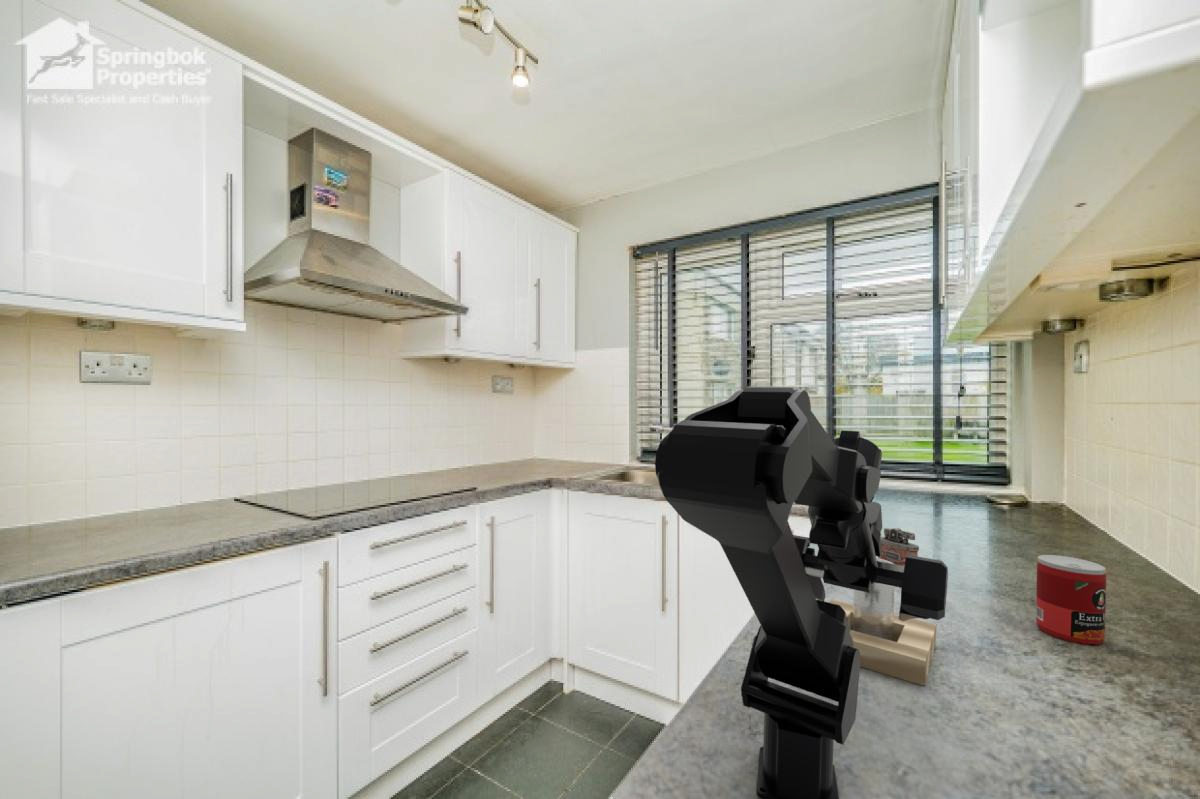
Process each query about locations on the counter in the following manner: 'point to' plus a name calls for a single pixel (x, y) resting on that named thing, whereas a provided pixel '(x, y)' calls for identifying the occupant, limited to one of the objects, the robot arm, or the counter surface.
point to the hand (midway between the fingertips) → (861, 607)
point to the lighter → (897, 546)
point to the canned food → (1071, 599)
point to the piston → (875, 610)
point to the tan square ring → (896, 648)
